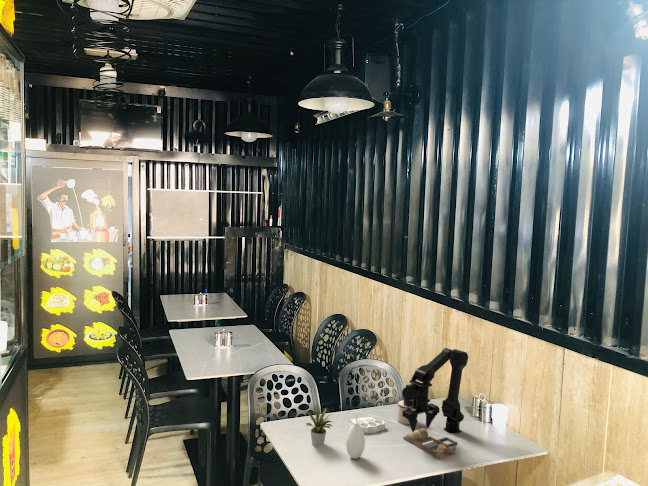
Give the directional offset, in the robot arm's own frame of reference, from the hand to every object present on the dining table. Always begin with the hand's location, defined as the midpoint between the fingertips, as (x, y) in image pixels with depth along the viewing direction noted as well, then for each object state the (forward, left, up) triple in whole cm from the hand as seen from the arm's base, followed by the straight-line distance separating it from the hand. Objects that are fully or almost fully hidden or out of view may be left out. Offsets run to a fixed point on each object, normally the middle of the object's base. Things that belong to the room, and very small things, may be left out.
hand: (420, 429), depth 236 cm
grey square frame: (-10, +8, -6) cm, 14 cm away
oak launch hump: (0, -1, -6) cm, 6 cm away
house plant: (+44, -20, -6) cm, 49 cm away
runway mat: (0, +2, -6) cm, 6 cm away
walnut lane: (0, +9, -6) cm, 11 cm away
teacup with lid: (-11, -21, -6) cm, 25 cm away
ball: (0, +11, -4) cm, 12 cm away
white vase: (+36, -2, -6) cm, 37 cm away
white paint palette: (+13, -24, -6) cm, 28 cm away
